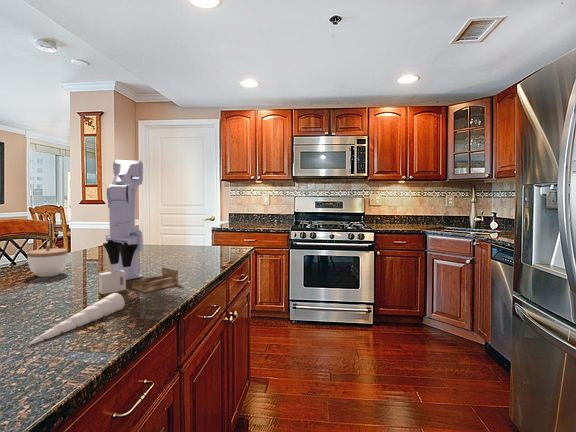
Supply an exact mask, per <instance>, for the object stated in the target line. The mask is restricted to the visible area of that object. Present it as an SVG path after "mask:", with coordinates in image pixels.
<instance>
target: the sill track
mask: <svg viewBox="0 0 576 432" xmlns="http://www.w3.org/2000/svg"><path fill="white" fill-rule="evenodd" d="M177 285H179V269H177V268H171V267H167V266H163V267H161V274H159V275H156V276H150V277H145V278H144V277H143V278H139V279H136V280H135V279H133V280H132V284H131V288H132V289H133V290H134V289H135V290H137V291H139V292H140V291H141V292H143V293H147V292H152V291H154V290H155V291H156V290H160V289H165V288H169V287H173V286H177Z"/></svg>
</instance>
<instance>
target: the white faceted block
mask: <svg viewBox="0 0 576 432" xmlns="http://www.w3.org/2000/svg"><path fill="white" fill-rule="evenodd" d="M97 277H98V293H99V294H101V295H106V294H113V293H118V292H123V291H126V290H127V283H126V281H127V280H126V271H123V270H118V271H111V272H109V271H105V272H98V276H97Z"/></svg>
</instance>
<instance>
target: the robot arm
mask: <svg viewBox="0 0 576 432" xmlns="http://www.w3.org/2000/svg"><path fill="white" fill-rule="evenodd" d="M143 164H144V163H143V161H142V160H140V159H139V160H130V159H129V160H127V159H126V160H125V159H124V160H123V159H114V160H113V164H112V171H113V174H114V175H113V176H114V178H113V180H112V182H111V184H110V185H109V186H107V187H106V199H107V200H106V201H107V208H108V209H109V210H108V211H109V212H108V213H109V215H108V217H109V219H108V220H109V234H105V242H103V243H102V246H103V247H104V249H105V250H106V253H107V257H108V256H109V259H110V263H111V264H113V271H118V270H123V271H126V281H128V280H132V279H133V280H135V279H138V278H139V279H140V278H144V277H145V275H144V274H141V273H140V262H139V261H140V256H139V255H140V253H141V252H142V251H143V248H144V241H143V240H144V239H143V237H144V236H143V232H142V230H140V228H138V227H136V199H137V198H136V197H137V195H136V194H137V190H138V186H141V185H142V184H143V181H144V180H143V179H144V165H143Z"/></svg>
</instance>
